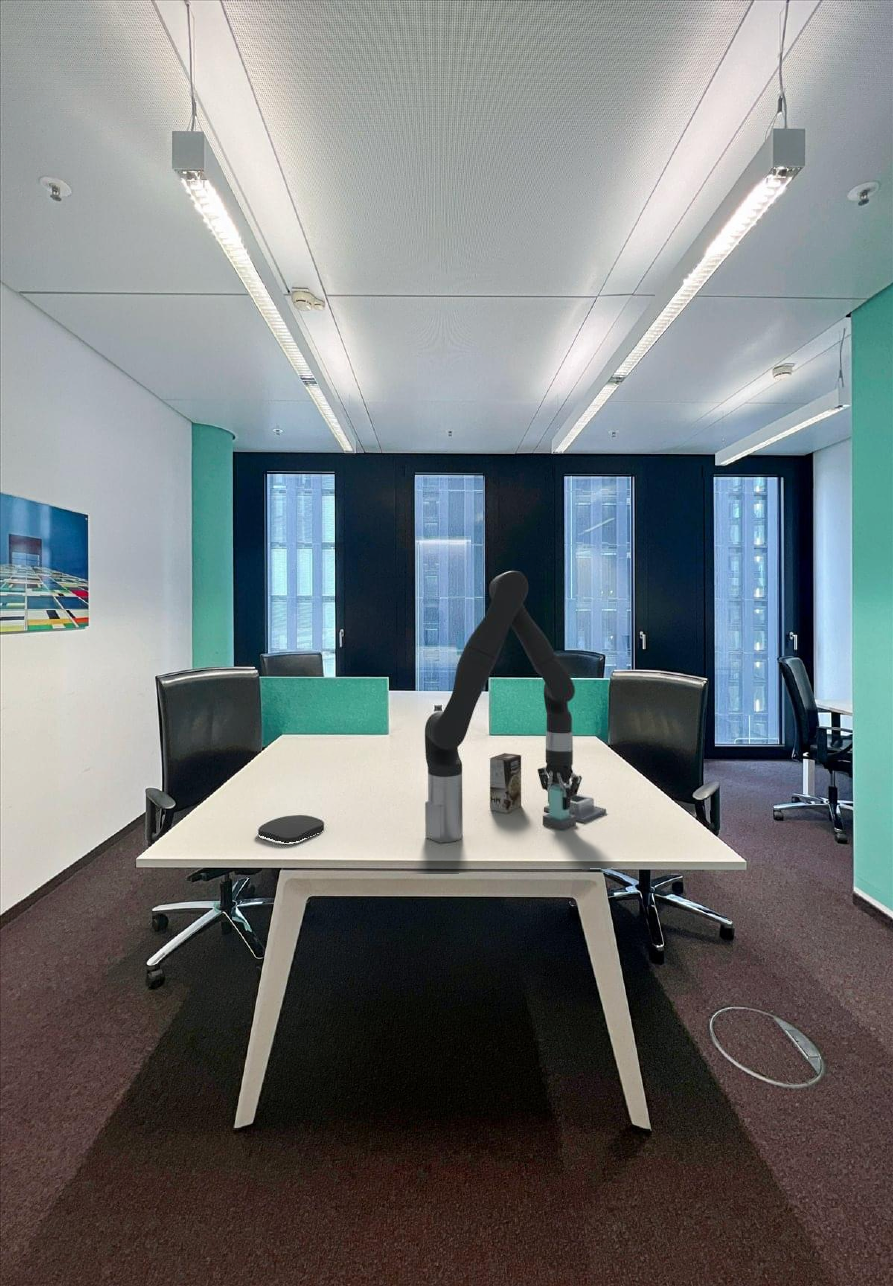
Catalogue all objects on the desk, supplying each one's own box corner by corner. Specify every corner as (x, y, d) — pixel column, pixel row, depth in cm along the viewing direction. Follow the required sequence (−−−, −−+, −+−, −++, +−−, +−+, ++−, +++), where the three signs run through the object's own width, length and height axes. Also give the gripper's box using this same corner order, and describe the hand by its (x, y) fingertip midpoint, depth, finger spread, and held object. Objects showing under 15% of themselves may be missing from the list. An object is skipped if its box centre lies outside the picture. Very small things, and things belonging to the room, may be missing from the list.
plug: (560, 827, 149) (560, 788, 149) (549, 823, 152) (548, 785, 152) (569, 824, 152) (569, 785, 152) (557, 820, 155) (557, 782, 155)
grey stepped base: (583, 823, 153) (583, 808, 153) (543, 811, 164) (543, 797, 164) (606, 813, 161) (606, 799, 161) (567, 802, 172) (567, 789, 172)
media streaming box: (290, 849, 138) (289, 837, 138) (252, 837, 145) (251, 826, 145) (330, 830, 150) (330, 819, 150) (293, 821, 158) (293, 811, 158)
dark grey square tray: (562, 830, 148) (562, 821, 148) (542, 824, 153) (542, 815, 152) (576, 824, 152) (575, 816, 152) (556, 818, 157) (556, 810, 157)
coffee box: (507, 814, 162) (507, 760, 161) (489, 809, 165) (488, 757, 165) (522, 805, 169) (522, 754, 168) (504, 802, 173) (504, 752, 172)
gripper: (530, 745, 154) (530, 804, 155) (572, 753, 144) (572, 817, 144) (546, 741, 159) (546, 799, 160) (588, 749, 149) (588, 810, 149)
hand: (559, 807), depth 152 cm, fingers closed on plug, 4 cm apart
